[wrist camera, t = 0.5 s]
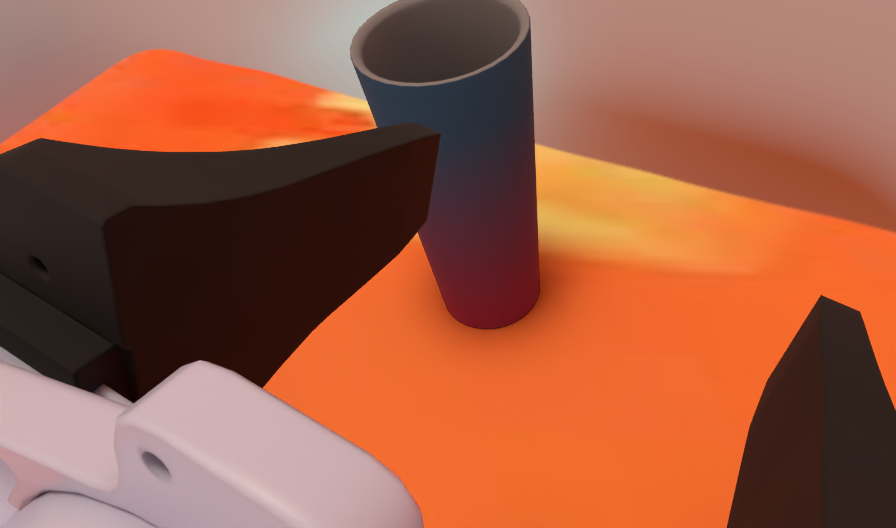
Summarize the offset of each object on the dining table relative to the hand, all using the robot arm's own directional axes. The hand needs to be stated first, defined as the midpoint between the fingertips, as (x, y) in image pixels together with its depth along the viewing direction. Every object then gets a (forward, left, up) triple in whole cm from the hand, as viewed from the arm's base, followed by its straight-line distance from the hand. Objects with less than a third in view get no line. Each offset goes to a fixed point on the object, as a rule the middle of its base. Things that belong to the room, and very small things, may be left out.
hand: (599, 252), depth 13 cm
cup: (+13, +9, -19) cm, 25 cm away
